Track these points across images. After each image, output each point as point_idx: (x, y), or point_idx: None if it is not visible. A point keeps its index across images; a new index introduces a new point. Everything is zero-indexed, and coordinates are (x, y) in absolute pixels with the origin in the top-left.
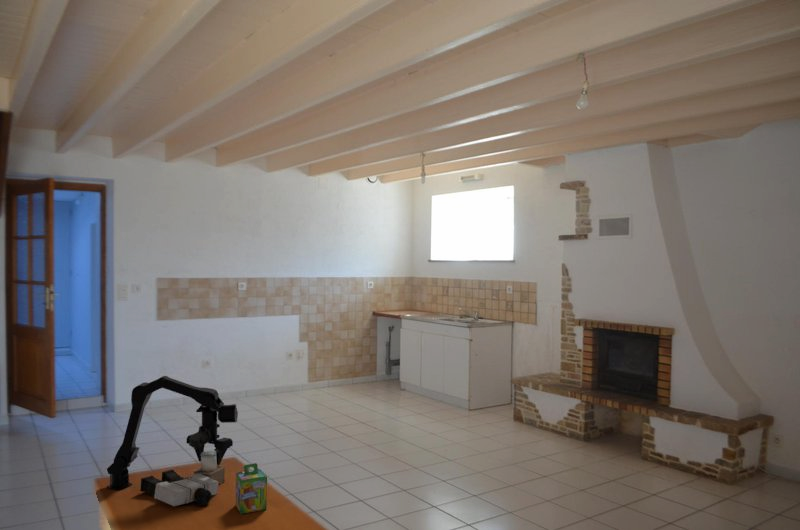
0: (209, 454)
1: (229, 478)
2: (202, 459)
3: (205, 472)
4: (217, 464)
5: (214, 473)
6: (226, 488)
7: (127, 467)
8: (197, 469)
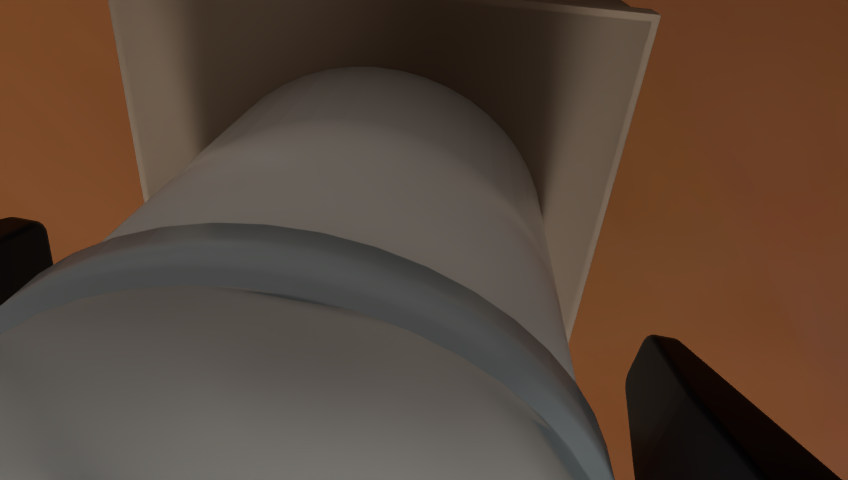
0: (149, 458)
1: None
2: (409, 212)
3: (297, 7)
4: (4, 223)
5: (149, 89)
6: (59, 37)
7: None
8: (608, 138)
